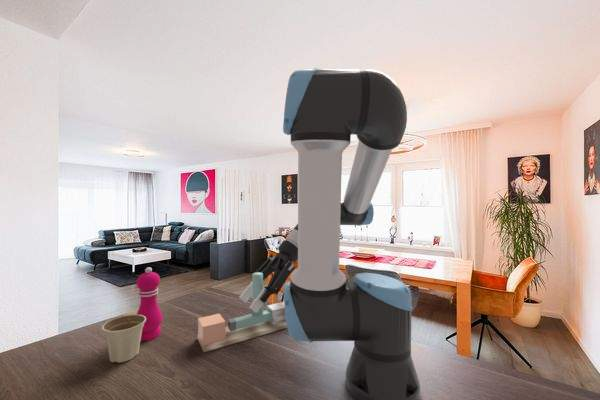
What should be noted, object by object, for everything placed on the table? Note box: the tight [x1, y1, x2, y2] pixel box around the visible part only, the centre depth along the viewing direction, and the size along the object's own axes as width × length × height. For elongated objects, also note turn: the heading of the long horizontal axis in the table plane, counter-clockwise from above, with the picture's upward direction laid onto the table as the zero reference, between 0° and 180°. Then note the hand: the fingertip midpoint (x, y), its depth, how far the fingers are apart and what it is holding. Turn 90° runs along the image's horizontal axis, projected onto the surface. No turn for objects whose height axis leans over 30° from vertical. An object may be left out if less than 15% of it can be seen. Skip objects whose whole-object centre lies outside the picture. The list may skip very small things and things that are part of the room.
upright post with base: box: [227, 272, 272, 331], centre depth 83 cm, size 21×3×15 cm, turn 122°
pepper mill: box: [135, 266, 163, 342], centre depth 78 cm, size 7×7×20 cm
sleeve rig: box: [196, 301, 287, 353], centre depth 81 cm, size 30×8×6 cm, turn 122°
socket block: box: [197, 313, 226, 346], centre depth 75 cm, size 6×6×5 cm
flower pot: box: [101, 314, 146, 364], centre depth 68 cm, size 9×9×9 cm
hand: (247, 305), depth 80 cm, fingers open, 8 cm apart
